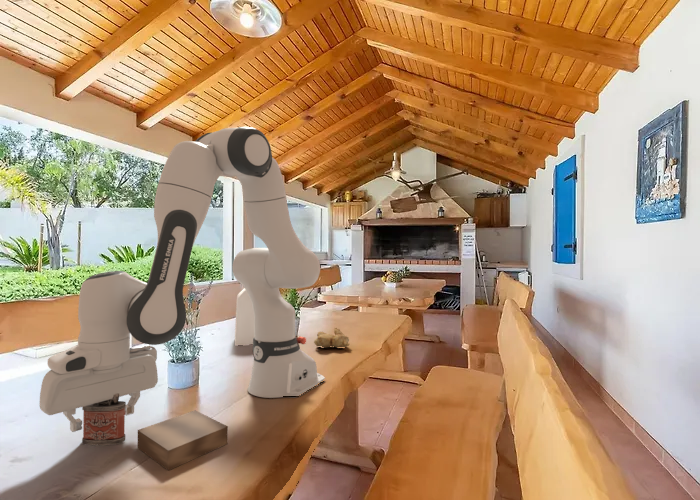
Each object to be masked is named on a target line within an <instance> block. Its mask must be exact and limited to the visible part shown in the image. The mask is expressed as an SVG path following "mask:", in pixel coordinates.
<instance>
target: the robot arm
mask: <svg viewBox="0 0 700 500" xmlns="http://www.w3.org/2000/svg"><path fill="white" fill-rule="evenodd" d="M272 152H273V151H272V147H271V144H270V142H269V140H268V137H266V135H265V134H264V133H263V132H262V131H261V130H259V129H258V128H254V127H251V126H250V127H249V126H240V127H228V128H227V127H226V128H222V129H220V130H216V131H213V132H207V133H204V134H201V136H199V137H198V138H197V139H196V140H195V141H192V140H184V141H180V142H178V143H176V144H175V145H174V146H173V148H172V149H171V151H170V154H169V155H168V157H167V159H166V161H165V164H164V167H163V168H162V171H161V174H160V177H159V180H158V184H157V187H156V192H155V199H154V205H153V206H154V208H153V217H154V222H155V225H156V230H157V244H156V248H155V251H154V252H155V253H154V256H153V260H152V261H153V262H152V264H151V269H150V272H149V277H148V280H147V282H145V281H143V280H140V279H138V278H136V277H134V276H133V275H130V274H129V273H127V272H126V271H123V270H115V271H105V272H100V273H96V274H93V275H91V276H89V277H87V278H86V279H85V280H84V281H83V282H82V284H81V287H80V291H79V298H78V307H77V309H78V311H77V314H78V315H77V317H78V318H77V319H78V322H79V326H80V331H79V335H78V337H77V345H74V346H72V347H70V348H68V349H64V350H63V351H61V352H59V353H58V352H57V353H56V354H54V355H52V356H51V355H50V357H48V359H47V366H48V368H49V369H50V370H48V371H47V372H46V373H45V374H44V375H43V376H44V377H43V379H42V381H41V385H40V386H41V387H40V393H39V409H40V410H41V411H42V412H43V413H44V414H46V415H48V416H53V415H57V414H61V413H62V414H63V415H64V417H66V418H67V420H68V421H69V429H70V431H71V433H76V432H78V431H81V430H83V426H82V425H83V420H82V419H80V418H75V417H74V415H76V410H77V409H78V408H82V407H83V406H87V405H91V404H95V403H98V402H102V401H106V400H110V399H112V398H113V396H114V394H118V393H119V398H120V397H123V396H130V397H129V400H128V402H127V403H126V407H125V416H131V415H134V413H135V405H136V404H137V402H138V401H139V399H140V397H141V392H143V391H146V390H151V389H154V388H155V387H156V386H157V384H158V382H159V378H158V368H157V367H158V366H157V363H156V362H157V358H158V354H157V353H158V351H157V349H156V348H155V346H157V345H162V344H166V343H168V342H171V341H172V340H174V339H175V338H176V337H178V335H180V333H181V332H182V331H183V329H184V327H185V326H186V325H185V324H186V321H187V310H186V305H185V301H184V300H185V299H184V294H183V293H184V287H185V281H186V277H187V273H188V268H189V264H190V260H191V254H192V251H193V247H194V244H195V242H196V240H197V236H198V234H199V232H200V231H201V229H202V226H203V224H204V222H205V219H206V217H207V214H208V212H209V210H210V205H211V201H212V198H213V194H214V189H215V185H216V182H217V181H218V179H219V178H220V177H226V178H227V177H229V178H235V177H236V178H237V179H238V181H239V182H240V184H241V191H242V199H243V204H244V211H245V217H246V223H247V227H248V229H249V231H250V232H251V234H253V236H255V237H257V238H259V240H261V241H262V242H263V243H264V244H265V246H266V247H252V248H247V249H244V250H240V251H238V253H237V254H236V255H235V257H234V259H233V262H232V273H233V276H234V278H235V280H236V281H237V282H238V283H239V284H241V285H242V286H243V289H244V288H245V289H246V291H247V293H248V295H249V297H250V299H251V302H252V305H253V310H254V323H255V337H254V338H253V345H252V355H253V356H252V357H253V361H252V362H253V363H252V370H251V374H250V375H251V376H250V380H249V385H248V388H247V391H248V393H249V394H251V395H252V396H256V397H258V398H265V399H266V398H269V399H272V398H273V399H275V398H277V399H278V398H284V397H283V396H299V395H300V394H302V393H304V392H306V391H307V390H309V389H311V388H312V387H314V386H315V385H317V384H318V383H320V382H321V381H323V380H324V379H325V380H326V377H325V376H324V375H322V374H320V373H319V372H318V369H317V362H316V361H315V359H314V358H313V357H312V356H310V355H309V354H307V353H306V352H305V351H303V350H302V349H301V348H300V344H301V345H305V344H306V343H307V337H305V336H301V335H300V336H298V337H297V336H296V311H295V307H293V305H292V304H291V303H290V302H289V301H287V300H286V299H284V297H283V296H282V293H281V292H280V289H290V290H291V289H295V290H296V289H297V290H298V289H303V288H309V287H312V286H313V285H315V283H316V282H317V281H318V279H319V276H320V274H321V263H320V260H319V257H318V256H317V254H315V252H313V251H312V250H311V249H309V248H308V247H306V245H304V243H303V242H302V241H301V240H300V238H299V237H298V235H297V234H296V231H295V230H294V228H293V225H292V221H291V216H290V213H289V207H288V200H287V193H286V187H285V182H284V179H283V175H282V172H281V169H280V165H279V164H278V162H277V160H276V159H275V158H274V157H273V153H272ZM131 336H132V337H133V338H134V339H135V340H136V341H138V342H139V343H142V344H144V345H142V346H134V347H131ZM317 386H318V385H317ZM314 388H315V387H314ZM312 389H313V388H312ZM312 389H311V390H312ZM309 391H310V390H309ZM307 392H308V391H307ZM307 392H306V393H307ZM304 394H305V393H304ZM302 395H303V394H302ZM300 396H301V395H300ZM300 396H299V397H300Z"/></svg>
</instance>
